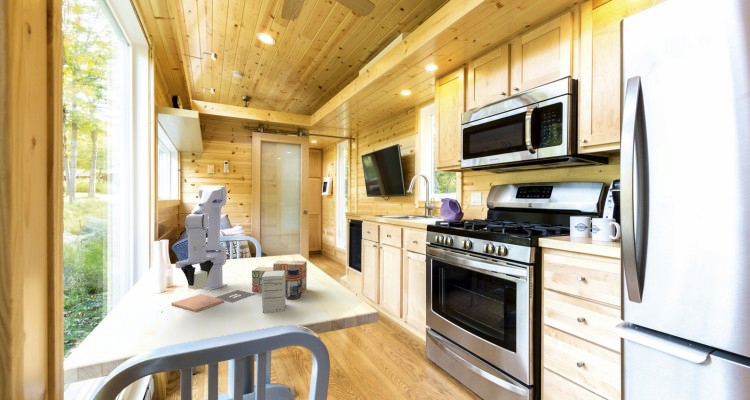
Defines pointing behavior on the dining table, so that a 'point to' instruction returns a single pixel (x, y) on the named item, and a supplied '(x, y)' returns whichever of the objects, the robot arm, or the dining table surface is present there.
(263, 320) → the dining table surface
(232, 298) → the mat
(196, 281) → the sage block
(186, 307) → the plate
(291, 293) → the supplement bottle
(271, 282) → the supplement box
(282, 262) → the stack of blocks
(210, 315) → the dining table surface
